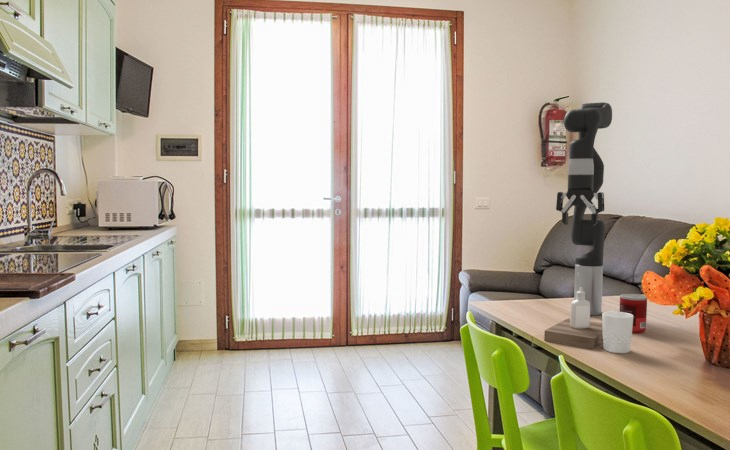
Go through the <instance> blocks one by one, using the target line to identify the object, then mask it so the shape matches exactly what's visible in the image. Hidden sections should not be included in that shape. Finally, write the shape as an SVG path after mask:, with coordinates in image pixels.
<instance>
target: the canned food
mask: <svg viewBox="0 0 730 450" xmlns="http://www.w3.org/2000/svg"><path fill="white" fill-rule="evenodd" d="M646 297H647V296H646V295H644V294H640V293H621V294H620V297H619V312H625V313H629V314H632V315H633V316H634V317H633V328H632V334H643V333H645V332H646V329H647V316H648V315H647V314H648V313H647V311H648V308H647V307H648V297H647V298H646Z"/></svg>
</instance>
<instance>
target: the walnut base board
mask: <svg viewBox="0 0 730 450" xmlns="http://www.w3.org/2000/svg"><path fill="white" fill-rule="evenodd" d="M570 319H571V317H570V318H569V317H568V318H566V319H564V320H561V321H560V322H558V323H556V324H554V325H553V326H551V327H549V328H546V329H545V330H544V333H543V334H544V337H543V341H545V342H550V343H551V342H552V343H556V344H563V345H568V346H574V347H580V348H584V349H592V350H594V349H597V347H598V346H600V345H603V333H602V322H598V321H591V320H590V326H589V328H585V329H575V328H572V327H571V326H570Z"/></svg>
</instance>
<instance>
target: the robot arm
mask: <svg viewBox="0 0 730 450" xmlns="http://www.w3.org/2000/svg"><path fill="white" fill-rule="evenodd" d="M612 120H613V108H612V106H611V104H610V103H608V102H587V103H586V102H585V103H582V104H580V106H579V108H578V109H570V110H568V111H567V112H566V114H565V116H564V118H563V126H564V128H565V130H566V131H568V132H569V133H578V135H577V137H578V139H575V140H572V141H570V143H569V151H568V152H569V155H568V157H569V158H568V159H569V160H568V166H567V167H568V169H567V192H564V191H559V192H557V194H556V206H555V207H556V208H555V210H556V211H558V212H561V222H562V223H563V225H565V226H567V225H569V211H570V209H571V208H573V217H572V224H571V235H570V236H571V241H572V244H573V245H575V246H585V247H586V246H587V247H588V246H590V247H592V250H591V251H589V252H586V253H584V254H580V255H577V256H575V259H574V260H575V261H574V291H573V293H574V297H573V301H574V300H576V295H577V292H578V291H579V289H580V287H582V289H583V292H585V300H587V301H589V302H590V316H599V315H602V308H603V307H602V305H603V304H602V303H603V274H604V273H603V272H604V249H605V247H604V246H605V238H606V237H605V236H606V225H605V223H604V221H603V220H601V219H599V214H600V213H602V212H605V194H604V193H605V192H604V191H603V192H602V191H600V190H601V188H602V186H603V184H604V174H605V173H604V171H605V164H604V162H603V160H602V158H601V156H600V154H599V152H598V151H597V150H596V148H595V147H594V144H595V139H596V136H597V133H598V130H601V129H607V128H608V127H610V125H611V124H612ZM566 197H567V199H568V201H567V202H566V204H565V205H563V204H564V199H565V198H566ZM594 198H595V200H597V207H596V205H595V203H594V202H593V199H594ZM563 206H564V207H563ZM573 206H574V207H573ZM587 208H588V209H589V210H590V212H591V216H590V219H584V216H585V214H586V210H587Z"/></svg>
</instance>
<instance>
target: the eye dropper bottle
mask: <svg viewBox="0 0 730 450" xmlns="http://www.w3.org/2000/svg"><path fill="white" fill-rule="evenodd" d="M590 321H591V315H590V302H589V301H587V300H585V292H583V289H582V287H580V289H579V291H578V292H577V295H576V300H574V299H573V300H572V301H571V303H570V326H571V327H572V328H575V329H585V328H589V326H590Z"/></svg>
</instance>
